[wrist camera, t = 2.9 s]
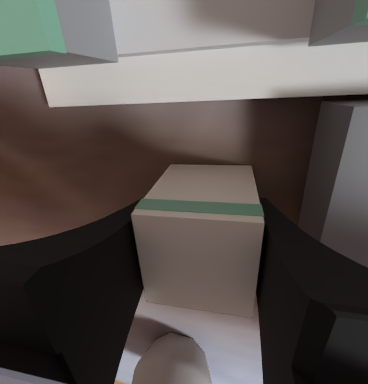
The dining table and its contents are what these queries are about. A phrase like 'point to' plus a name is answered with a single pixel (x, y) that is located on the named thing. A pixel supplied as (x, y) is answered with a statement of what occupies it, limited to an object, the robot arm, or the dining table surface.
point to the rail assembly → (187, 49)
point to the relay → (339, 180)
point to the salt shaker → (172, 362)
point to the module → (201, 238)
